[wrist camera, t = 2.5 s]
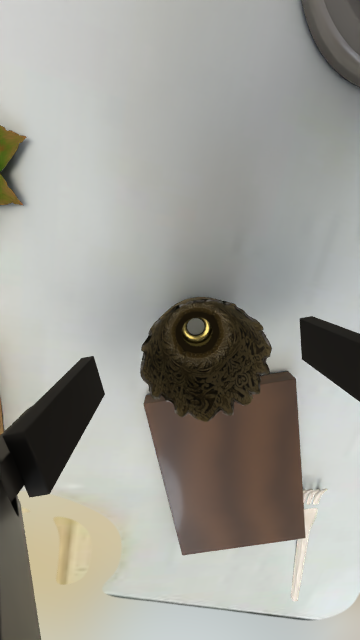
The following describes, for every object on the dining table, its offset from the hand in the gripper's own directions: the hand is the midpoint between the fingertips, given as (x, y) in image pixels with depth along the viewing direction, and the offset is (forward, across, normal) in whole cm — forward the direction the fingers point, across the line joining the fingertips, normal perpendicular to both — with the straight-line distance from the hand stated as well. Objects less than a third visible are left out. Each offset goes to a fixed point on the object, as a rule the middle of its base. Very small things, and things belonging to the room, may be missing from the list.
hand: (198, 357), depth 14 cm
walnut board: (+7, +1, -16) cm, 17 cm away
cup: (+7, 0, 0) cm, 7 cm away
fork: (+7, +8, -29) cm, 31 cm away
